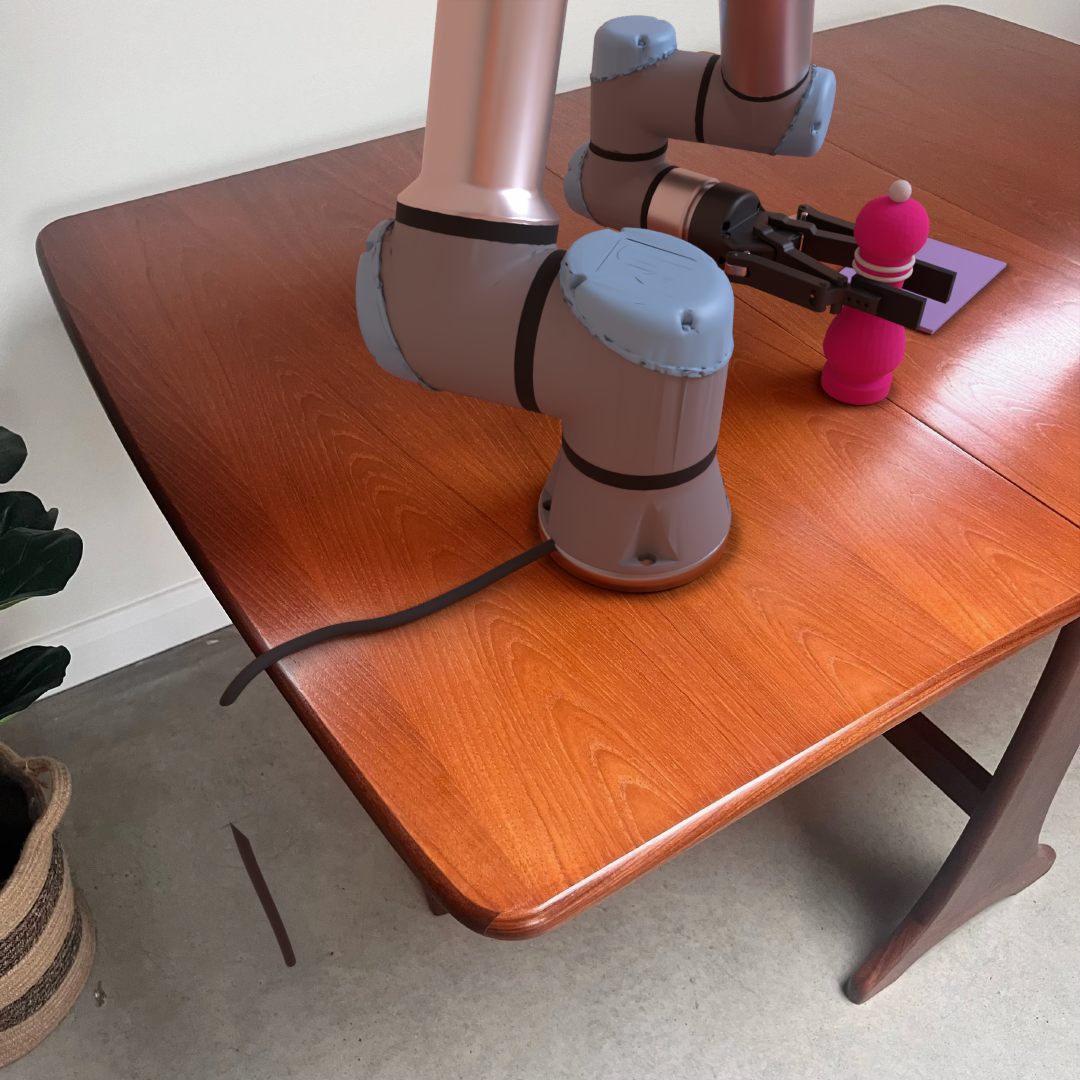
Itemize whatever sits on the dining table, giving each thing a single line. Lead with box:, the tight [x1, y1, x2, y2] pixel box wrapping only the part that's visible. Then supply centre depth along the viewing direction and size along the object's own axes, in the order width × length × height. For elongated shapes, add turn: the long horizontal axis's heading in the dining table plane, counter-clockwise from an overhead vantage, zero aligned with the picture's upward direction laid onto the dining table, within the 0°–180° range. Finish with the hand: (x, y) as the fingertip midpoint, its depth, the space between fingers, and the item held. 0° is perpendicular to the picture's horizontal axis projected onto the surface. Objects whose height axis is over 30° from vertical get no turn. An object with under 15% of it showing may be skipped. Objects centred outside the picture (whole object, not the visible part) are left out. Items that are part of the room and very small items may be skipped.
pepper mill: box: [820, 179, 930, 406], centre depth 91 cm, size 7×7×20 cm
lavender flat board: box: [838, 237, 1008, 335], centre depth 112 cm, size 18×13×1 cm
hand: (936, 301), depth 88 cm, fingers closed on pepper mill, 5 cm apart
